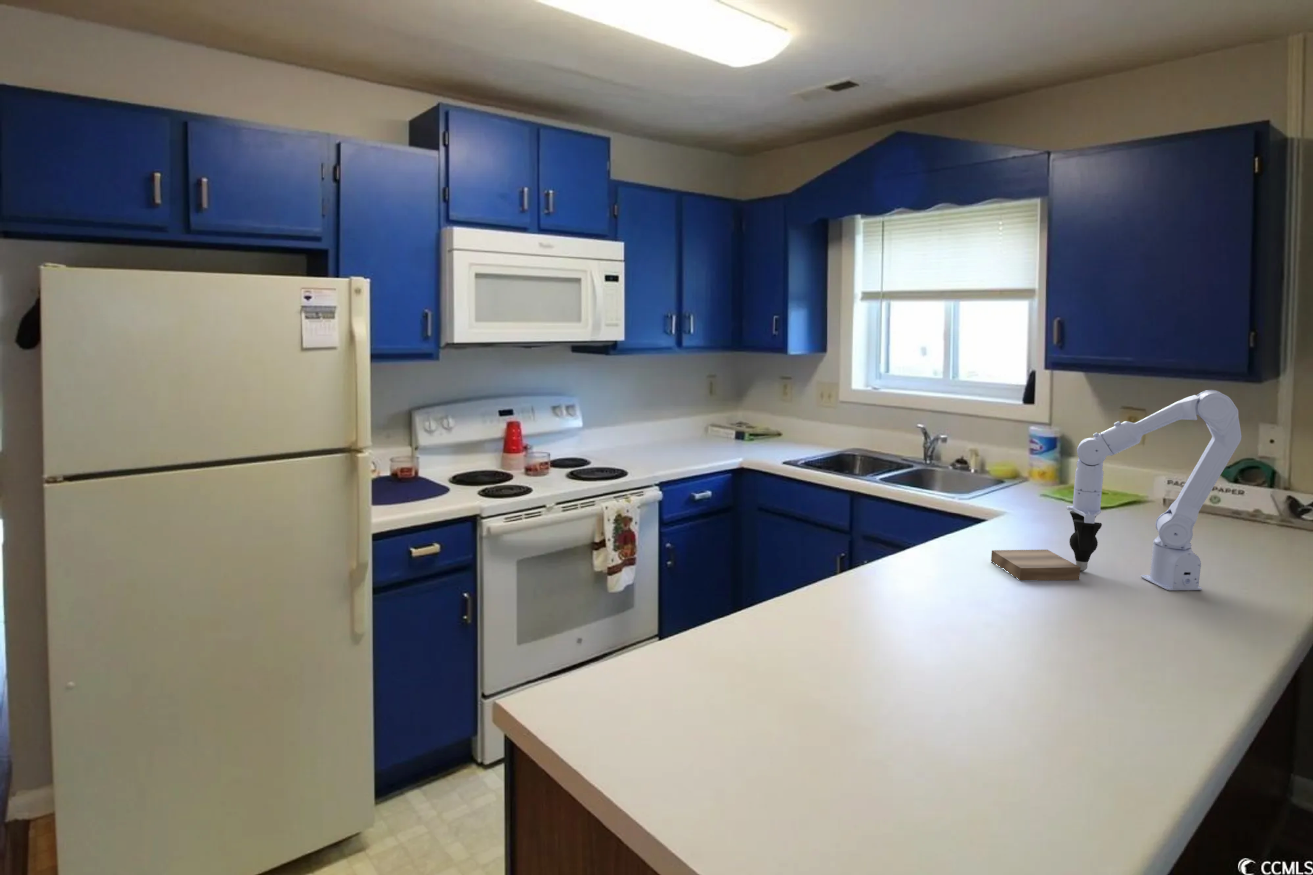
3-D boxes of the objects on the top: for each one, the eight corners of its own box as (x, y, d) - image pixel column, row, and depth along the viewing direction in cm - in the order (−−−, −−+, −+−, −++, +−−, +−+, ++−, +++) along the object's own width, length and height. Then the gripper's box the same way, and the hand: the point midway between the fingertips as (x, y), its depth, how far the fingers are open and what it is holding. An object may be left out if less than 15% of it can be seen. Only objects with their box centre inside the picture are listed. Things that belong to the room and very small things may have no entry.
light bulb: (1100, 575, 185) (1103, 533, 184) (1074, 575, 186) (1078, 533, 184) (1087, 567, 191) (1090, 527, 190) (1062, 567, 191) (1065, 527, 190)
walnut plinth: (1079, 579, 182) (1080, 567, 182) (1019, 580, 181) (1020, 568, 181) (1046, 561, 196) (1047, 549, 196) (991, 562, 195) (991, 550, 195)
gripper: (1065, 482, 194) (1061, 536, 196) (1072, 494, 180) (1066, 552, 182) (1098, 484, 191) (1093, 539, 193) (1107, 497, 178) (1101, 555, 180)
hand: (1082, 546), depth 187 cm, fingers open, 7 cm apart
